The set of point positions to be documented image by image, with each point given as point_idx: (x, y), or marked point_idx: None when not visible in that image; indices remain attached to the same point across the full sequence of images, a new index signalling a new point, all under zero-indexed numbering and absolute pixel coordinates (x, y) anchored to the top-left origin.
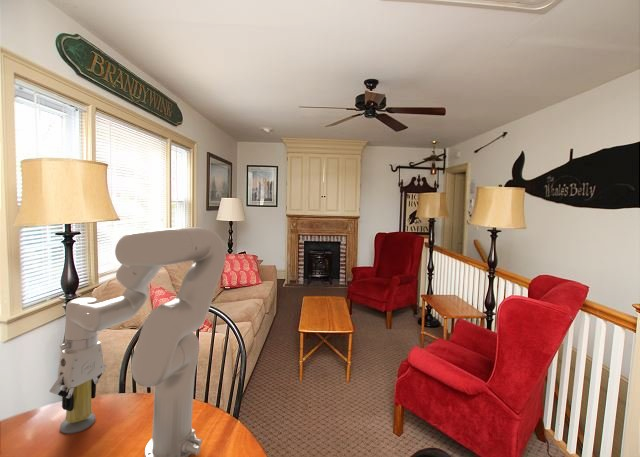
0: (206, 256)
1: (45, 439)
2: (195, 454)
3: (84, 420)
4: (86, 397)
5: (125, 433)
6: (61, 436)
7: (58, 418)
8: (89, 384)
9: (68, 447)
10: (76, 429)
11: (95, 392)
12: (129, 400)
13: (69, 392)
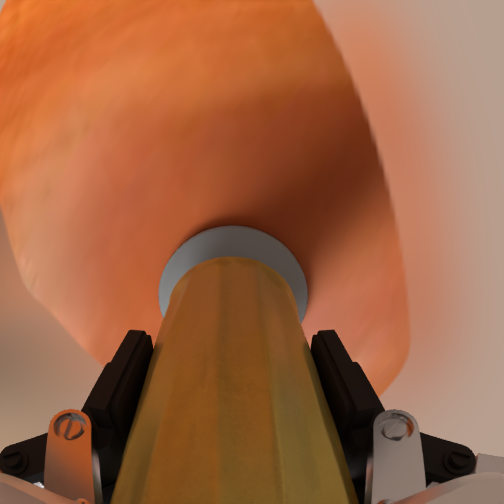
0: None
1: (351, 318)
2: None
3: None
4: (229, 344)
5: (201, 23)
6: (322, 281)
7: None
8: (170, 460)
9: (365, 182)
10: (284, 250)
11: (116, 353)
12: (24, 236)
13: (413, 454)
